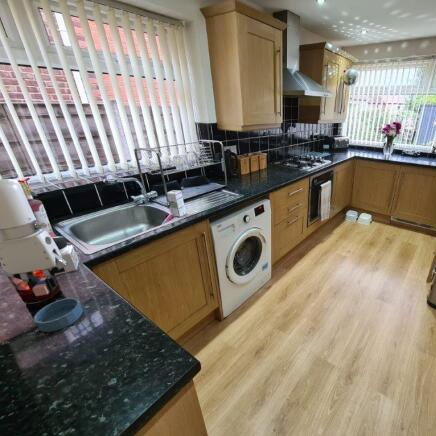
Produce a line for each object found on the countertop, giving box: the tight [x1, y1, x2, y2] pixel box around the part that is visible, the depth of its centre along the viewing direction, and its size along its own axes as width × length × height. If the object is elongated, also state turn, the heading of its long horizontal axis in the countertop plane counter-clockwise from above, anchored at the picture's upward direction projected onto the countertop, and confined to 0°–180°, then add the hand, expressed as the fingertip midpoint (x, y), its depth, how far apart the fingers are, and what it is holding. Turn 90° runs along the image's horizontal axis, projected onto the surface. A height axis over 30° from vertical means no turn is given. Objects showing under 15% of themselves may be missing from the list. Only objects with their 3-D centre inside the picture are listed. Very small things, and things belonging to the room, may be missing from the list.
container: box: [52, 236, 79, 276], centre depth 93 cm, size 8×8×13 cm
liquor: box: [19, 182, 57, 237], centre depth 111 cm, size 7×7×28 cm
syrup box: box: [166, 189, 186, 218], centre depth 143 cm, size 6×6×14 cm
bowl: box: [33, 297, 84, 333], centre depth 71 cm, size 10×10×4 cm
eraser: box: [32, 276, 51, 297], centre depth 67 cm, size 5×3×3 cm, turn 22°
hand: (46, 289), depth 67 cm, fingers closed on eraser, 2 cm apart
